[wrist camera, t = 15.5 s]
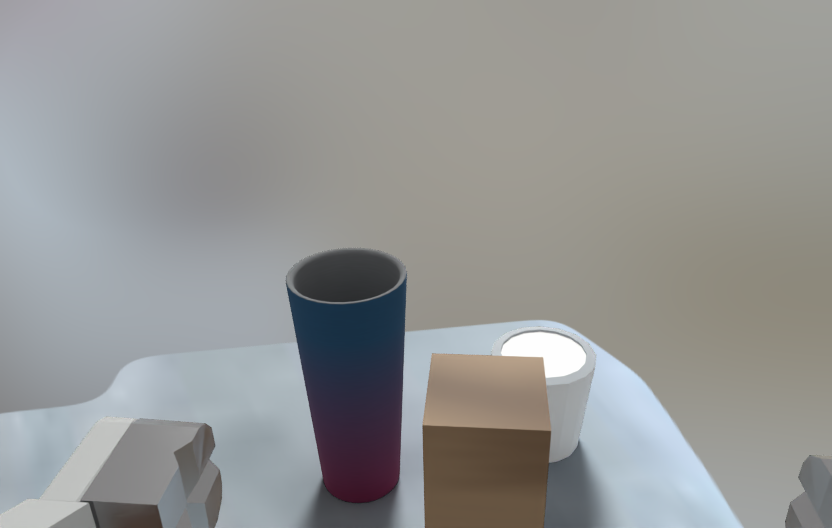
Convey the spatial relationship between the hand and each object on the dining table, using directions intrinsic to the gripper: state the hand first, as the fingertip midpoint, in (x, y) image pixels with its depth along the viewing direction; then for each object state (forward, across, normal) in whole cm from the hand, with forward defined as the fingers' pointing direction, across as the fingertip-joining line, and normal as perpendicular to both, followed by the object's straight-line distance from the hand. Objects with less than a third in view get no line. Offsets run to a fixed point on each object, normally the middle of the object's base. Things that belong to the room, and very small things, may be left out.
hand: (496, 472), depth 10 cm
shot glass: (+32, -4, +27) cm, 42 cm away
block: (+12, 0, +26) cm, 28 cm away
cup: (+28, +7, +27) cm, 39 cm away
